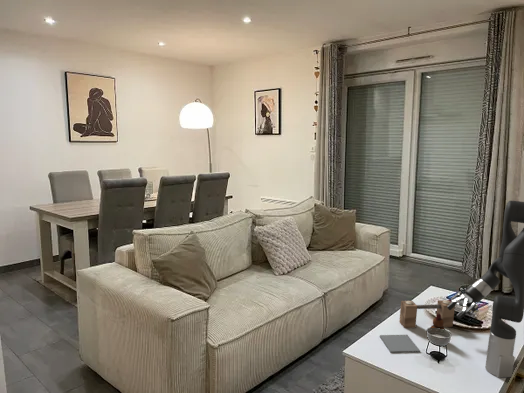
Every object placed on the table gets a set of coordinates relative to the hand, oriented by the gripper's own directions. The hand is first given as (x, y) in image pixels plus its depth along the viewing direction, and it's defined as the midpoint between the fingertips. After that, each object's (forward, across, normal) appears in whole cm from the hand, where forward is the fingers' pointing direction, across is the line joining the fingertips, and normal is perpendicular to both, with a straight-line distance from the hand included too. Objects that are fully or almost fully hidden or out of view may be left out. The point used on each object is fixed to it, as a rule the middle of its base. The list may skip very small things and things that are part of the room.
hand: (452, 313), depth 188 cm
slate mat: (+29, +3, -9) cm, 30 cm away
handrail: (+14, -15, +6) cm, 21 cm away
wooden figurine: (+15, 0, +5) cm, 16 cm away
